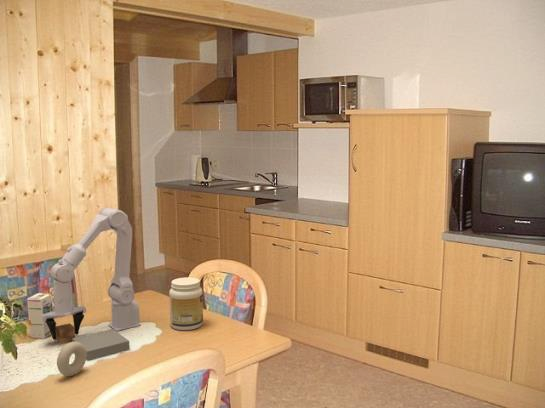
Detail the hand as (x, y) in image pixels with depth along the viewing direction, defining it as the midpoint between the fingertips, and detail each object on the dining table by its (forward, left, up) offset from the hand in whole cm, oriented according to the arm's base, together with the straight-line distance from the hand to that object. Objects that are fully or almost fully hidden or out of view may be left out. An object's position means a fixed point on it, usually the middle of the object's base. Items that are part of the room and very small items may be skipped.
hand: (65, 336), depth 190 cm
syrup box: (+5, -10, -2) cm, 11 cm away
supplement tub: (-40, +13, -2) cm, 42 cm away
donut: (+7, +28, -2) cm, 29 cm away
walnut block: (0, 0, -2) cm, 2 cm away
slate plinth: (-7, +14, -1) cm, 16 cm away
